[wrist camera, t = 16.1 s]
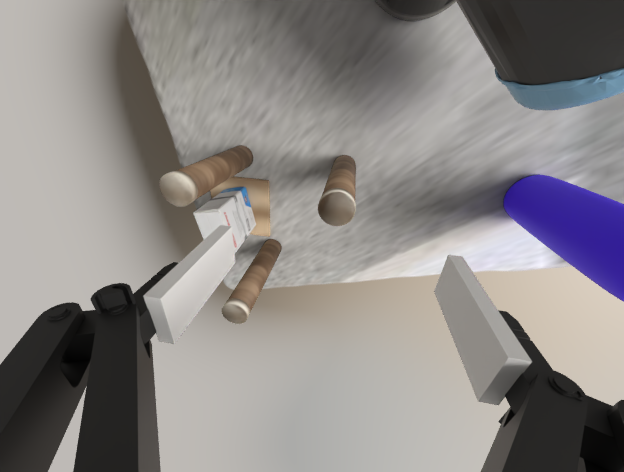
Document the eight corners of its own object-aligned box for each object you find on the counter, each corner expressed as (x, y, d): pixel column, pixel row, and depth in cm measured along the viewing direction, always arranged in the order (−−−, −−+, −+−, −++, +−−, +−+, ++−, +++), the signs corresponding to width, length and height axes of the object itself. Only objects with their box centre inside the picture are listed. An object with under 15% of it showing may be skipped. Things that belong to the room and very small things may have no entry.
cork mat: (210, 174, 50) (208, 175, 49) (269, 180, 48) (267, 181, 48) (217, 227, 56) (215, 229, 55) (270, 234, 54) (269, 236, 54)
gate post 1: (231, 144, 46) (155, 171, 29) (252, 146, 46) (189, 175, 28) (233, 166, 48) (163, 204, 31) (253, 168, 48) (195, 208, 30)
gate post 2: (334, 153, 44) (319, 189, 27) (357, 156, 44) (357, 193, 26) (331, 176, 46) (316, 223, 29) (354, 179, 46) (352, 228, 28)
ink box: (224, 188, 50) (190, 211, 40) (247, 185, 49) (218, 208, 39) (236, 227, 54) (208, 257, 44) (258, 225, 53) (234, 256, 42)
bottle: (554, 163, 40) (930, 285, 14) (562, 207, 43) (885, 377, 16) (495, 186, 43) (712, 324, 17) (506, 226, 45) (706, 396, 19)
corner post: (263, 237, 55) (220, 301, 38) (281, 240, 54) (246, 306, 37) (264, 253, 57) (223, 321, 40) (281, 256, 56) (248, 325, 39)
